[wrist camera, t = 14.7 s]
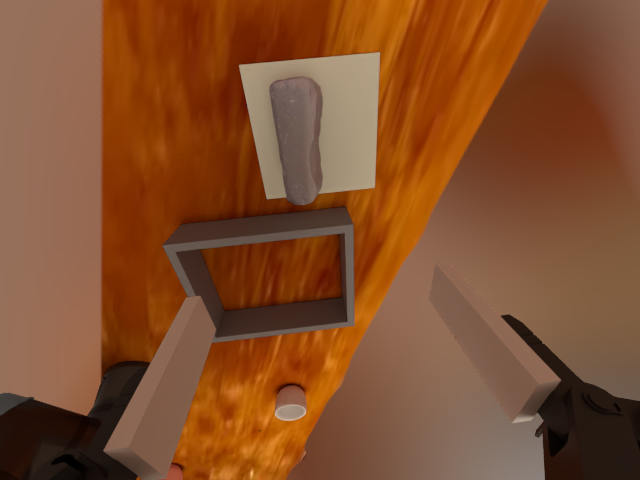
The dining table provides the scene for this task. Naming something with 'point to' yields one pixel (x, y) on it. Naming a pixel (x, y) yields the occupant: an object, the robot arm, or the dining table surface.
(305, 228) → the access frame
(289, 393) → the teacup
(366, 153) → the board
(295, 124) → the stone block
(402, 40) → the dining table surface
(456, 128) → the dining table surface
